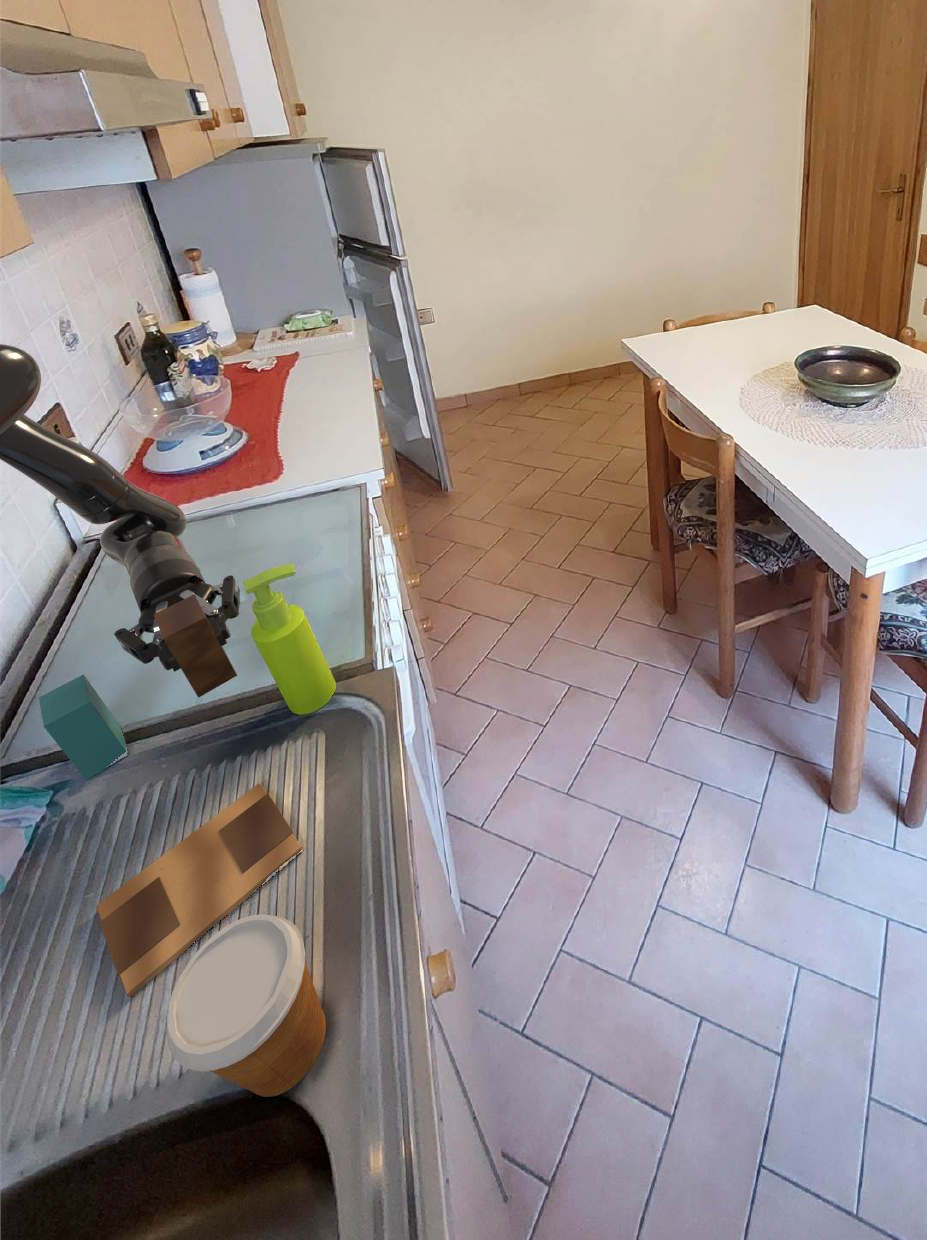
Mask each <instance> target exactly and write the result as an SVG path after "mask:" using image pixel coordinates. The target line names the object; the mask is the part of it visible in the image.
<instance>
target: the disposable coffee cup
mask: <svg viewBox="0 0 927 1240" xmlns="http://www.w3.org/2000/svg"><path fill="white" fill-rule="evenodd" d="M303 938H304V937H303V936H302V934H301V931H300V930H299V928H298V927H297V926H296V925H295V924H294V923H293V922H292V921H291V920H288V919H287V918H286V917H284V916H278V915H273V914H272V915H270V914H254V915H253V914H252V915H249V916H246V917H243V918H240V919H237V920H235V921H233V922H231V923H230V924H228V925H226V926H224V927H223V928H222V929H220V930H219V931H217V932H216V933H215V934H214V935H212V936H211V937H210V938H209V939H208V940H207V941H206V942H204V943H203V944H202V946H201V947H200V948H198V950H197V951H196V952H195V954H194V955H192V956H191V958H190V959H189V961H188V963H187V964H186V966H185V968H184V969H183V971H182V972H181V974H180V976H179V977H178V978H177V981H176V983H175V985H174V988H173V990H172V992H171V996H170V999H169V1001H168V1006H167V1007H168V1008H167V1015H166V1041H167V1046H168V1047H167V1048H168V1049H169V1052H170V1054H171V1056H172V1057H173V1059H174V1060H175V1061H176V1062H177V1063H178V1064H179V1065H180V1066H181V1067H184V1068H187V1069H189V1070H190V1071H193V1072H203V1073H204V1072H209V1073H212V1074H214V1075H217V1076H219V1077H221V1078H223V1079H225V1080H227V1081H229V1082H231V1083H233V1084H235V1085H237V1086H240V1087H241V1088H244V1089H245V1090H248V1091H249V1092H251V1093H254V1094H255V1095H256V1096H260V1097H264V1098H267V1097H276V1096H279V1095H281V1094H283V1093H286V1092H287V1091H289V1090H290V1089H292V1088H293V1087H295V1086H296V1085H297V1084H298V1083H299V1082H300V1081H301V1080H302V1079H303V1078H304V1077H305V1076H306V1075H307V1074H308V1072H310V1070H311V1068H312V1067H313V1065H314V1064H315V1062H316V1060H317V1058H318V1056H319V1054H320V1052H321V1050H322V1047H323V1044H324V1042H325V1037H326V1036H325V1035H326V1031H327V1030H326V1029H327V1028H326V1027H327V1026H326V1025H327V1021H326V1015H325V1012H324V1010H323V1007H322V1005H321V1002H320V998H319V996H318V993H317V990H316V987H315V984H314V982H313V979H312V976H311V973H310V970H309V968H308V965H307V963H306V949H305V944H304V943H305V942H304V939H303Z"/></svg>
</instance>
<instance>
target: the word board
mask: <svg viewBox="0 0 927 1240" xmlns="http://www.w3.org/2000/svg"><path fill="white" fill-rule="evenodd" d="M302 849H303V847H302V845H301V844H300V842H299V840H298V839H297V837H296V836H295V835H294V831H293V829H292V828H291V826H290V825H289V823H288V822H287V820H286V818H285V817H284V815H283V814H282V812H281V811H280V809H279V807H278V806H277V804H276V803H275V802H274V800H273V799H272V797H271V796H270V794H269V793H268V792H267V791H266V790H265V788H264V787H263V786H262V784H261V783H260V782H259V783H257V784H256V785H255V786H253V787H252V788H251V789H249V790H248V791H247V792H245V793H244V794H242V795H241V796H240V797H239V798H237V799H235V800H234V801H233V802H232V803H230V804H229V805H228V806H226V807H225V808H224V809H222V810H221V811H220V812H218V813H217V814H216V815H214V816H213V817H212V818H210V819H209V820H208V821H206V822H205V823H203V824H202V825H201V826H200V827H198V828H197V829H196V830H194V831H193V832H192V833H190V834H189V835H188V836H187V837H185V838H184V839H182V840H181V841H180V842H178V843H177V844H176V845H174V846H173V847H172V848H170V849H169V850H168V851H167V852H165V853H164V854H163V855H161V856H159V857H158V858H157V859H156V860H155V861H153V862H152V863H150V864H149V865H147V866H146V867H145V868H144V869H142V870H141V871H140V872H139V873H137V874H136V875H134V876H133V877H132V878H130V879H129V880H128V881H126V882H125V883H124V884H123V885H121V886H120V887H119V888H117V889H116V890H114V891H113V892H112V893H111V894H109V895H108V896H106V897H105V898H104V899H102V900H101V901H100V902H98V903H97V904H96V905H95V907H96V910H97V914H98V915H99V916H98V917H99V918H100V921H99V925H100V928H101V930H102V931H101V932H102V933H103V937H104V939H105V942H106V946H107V949H108V951H109V954H110V957H111V960H112V962H113V965H114V968H115V971H116V974H117V976H119V977H120V980H121V982H122V985H123V988H124V991H125V995H127V996H128V997H129V998H132V997H133V996H134V995H135V994H136V993H138V992H139V991H140V990H141V989H142V988H143V987H145V986H146V985H147V984H148V983H149V982H151V981H152V980H153V979H154V978H155V977H157V976H158V975H159V974H161V972H163V970H165V969H166V968H167V967H168V966H169V965H171V964H172V963H173V962H175V961H176V960H177V959H178V958H179V957H181V956H182V954H184V953H185V952H186V951H187V950H188V949H190V948H191V947H192V946H193V945H194V944H195V943H196V942H195V941H197V940H198V939H199V938H200V939H202V937H201V936H203V935H204V934H205V935H206V934H207V933H208V932H210V931H211V930H212V929H213V928H214V927H216V926H215V924H217V923H218V924H219V923H220V922H221V921H223V920H224V919H225V918H226V917H227V916H229V915H230V914H231V913H233V911H235V910H236V909H237V908H238V907H239V906H240V905H242V904H243V903H244V902H246V900H248V899H249V898H250V897H251V896H252V895H254V894H255V893H254V891H255V890H257V889H258V888H259V887H260V886H261V885H262V884H263V883H264V882H265V881H266V879H267V878H268V877H269V876H270V875H271V874H272V873H273V872H275V871H276V870H277V869H278V868H279V867H280V866H282V865H283V864H284V863H285V862H287V861H288V860H289V859H290V858H291V857H293V856H295V855H296V854H297V853H299V852H300V851H301V850H302ZM260 888H261V887H260ZM260 888H259V889H260ZM259 889H258V890H259ZM258 890H257V891H258ZM250 895H251V896H250ZM249 896H250V897H249ZM248 897H249V898H248ZM242 902H243V903H242ZM241 903H242V904H241ZM239 904H240V905H239ZM238 905H239V906H238ZM235 908H236V909H235ZM230 912H231V913H230ZM229 913H230V914H229ZM228 914H229V915H228ZM226 915H227V916H226ZM224 917H225V918H224ZM223 918H224V919H223ZM222 919H223V920H222ZM220 920H221V921H220ZM219 921H220V922H219ZM218 924H217V925H218ZM212 927H213V928H212ZM211 928H212V929H211ZM210 929H211V930H210ZM209 930H210V931H209ZM207 931H208V932H207ZM205 935H204V936H205ZM204 936H203V937H204ZM200 939H199V940H200ZM199 940H198V941H199ZM198 941H197V942H198ZM194 942H195V943H194ZM193 943H194V944H193ZM191 945H192V946H191ZM190 946H191V947H190Z"/></svg>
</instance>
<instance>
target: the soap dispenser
mask: <svg viewBox="0 0 927 1240" xmlns="http://www.w3.org/2000/svg"><path fill="white" fill-rule="evenodd" d="M296 572H297V570H296V567H295V564H294V563H287V564H283V565H279V566H275V567H272V568H270V569H268V570H267V569H266V570H265V571H263V572H261V573H258V574H256V575H254V576H252V577H250V578H248V579H245V580H244V581H243V586H244V590H245V593H246V594H247V595H250V594H252V593H253V594H254V596H255V598H256V599H255V600H254V601H253V603H252V605H251V609H252V612H253V613H254V615H255V618H256V619H257V620H255V622H254V623H253V626H252V627H251V631H250V635H251V638H252V639H253V642H254V644H255V645H256V648H257V649H258V651H259V653H260V656H261V657H262V659H263V661H264V663H265V665H266V667H267V669H268V670H269V672H270V675H271V677H272V679H273V680H274V682H275V684H276V686H277V688H278V690H279V692H280V694H281V696H282V698H283V700H284V701H285V704H286V706H287V708H288V709H289V710H291V711H292V712H291V711H290V712H291V713H293V714H295V715H300V716H301V715H309V714H312V713H315V712H317V711H319V710H321V709H322V708H323V707H324V706H326V705H327V704H328V703H329V702H330V701H331V700H332V698H333V697H332V695H333V694H334V695H335V693H336V689H337V682H336V680H335V677H334V676H333V673H332V671H331V669H330V667H329V664H328V662H327V660H326V658H325V655H324V653H323V651H322V649H321V647H320V644H319V642H318V640H317V638H316V636H315V634H314V631H313V629H312V626H311V624H310V622H309V620H308V618H307V616H306V614H305V611H304V609H303V608H302V607H301V606H299V605H297V604H288V603H287V601H286V599H285V597H284V594H283V593H282V592H281V591H277V590H272V588H271V586H270V584H273V583H275V582H277V581H280V580H283V579H285V578H289V577H292V576H294V575H295V574H296ZM334 692H335V693H334ZM334 695H333V696H334ZM331 697H332V698H331Z"/></svg>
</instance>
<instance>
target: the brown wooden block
mask: <svg viewBox="0 0 927 1240" xmlns="http://www.w3.org/2000/svg"><path fill="white" fill-rule="evenodd" d="M154 617H155V619H156V622H157V624H158V627H159V629H160V632H161V634H162V637H163V639H164V641H165V643H166V644H167V646H168V648H169V649H170V651H171V653H172V654H173V656H174V658H175V659H176V660H177V662H178V664H179V666H180V667H181V669H180V670H181V671H182V673H183V675H184V676H185V678H186V680H187V681H188V683H189V685H190V686H191V688H192V690H193V691H194V693H195V695H196V696H197V698H198V699H199V698H201V697H203V696H204V695H206V694H208V693H209V692H211V691H212V690H213V691H214V689H217V688H219V687H220V686H221V685H223V684H225V683H227V682H228V681H231V680H232V679H234V678H236V677H237V676H238V674H237V672H236V669H235V667H234V666H233V664H232V662H231V659H230V658H229V656H228V654H227V652H226V650H225V648H224V645H223V646H221V645H220V643H219V641H218V640H217V638H216V635H215V633H214V631H213V629H212V627H211V625H210V623H209V621H208V618H207V616H206V615H205V613H204V611H203V609H202V607H201V605H200V603H199V602H198V600H197V598H196V596H195V594H194V595H192V596H190V597H188V598H186V599H184V600H182V601H180V602H178V603H176V604H174V605H172V606H170V607H168V608H165V609H163V610H161V611H159V612H157V613H155V614H154Z"/></svg>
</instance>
